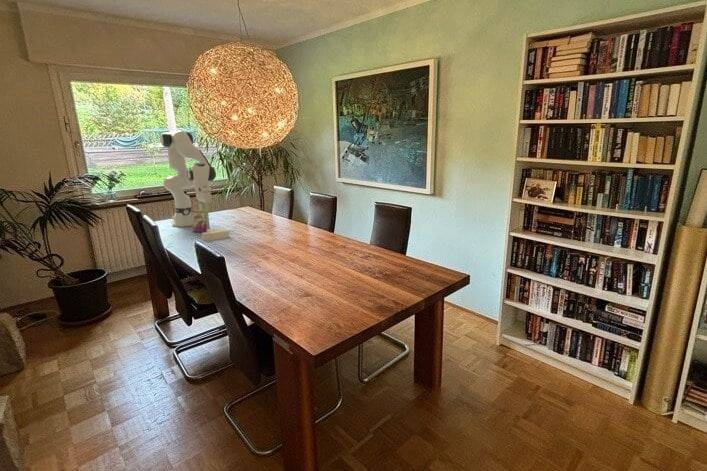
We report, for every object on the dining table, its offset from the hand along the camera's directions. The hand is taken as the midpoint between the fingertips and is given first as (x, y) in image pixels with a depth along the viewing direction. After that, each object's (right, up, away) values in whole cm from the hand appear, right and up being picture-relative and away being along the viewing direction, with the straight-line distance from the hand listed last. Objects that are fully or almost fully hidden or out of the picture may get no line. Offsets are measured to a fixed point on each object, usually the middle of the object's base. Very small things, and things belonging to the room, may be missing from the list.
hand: (204, 207), depth 245 cm
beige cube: (+2, -22, +1) cm, 22 cm away
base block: (+6, -20, +10) cm, 23 cm away
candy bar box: (-11, -16, +21) cm, 29 cm away
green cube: (0, -2, 0) cm, 2 cm away
